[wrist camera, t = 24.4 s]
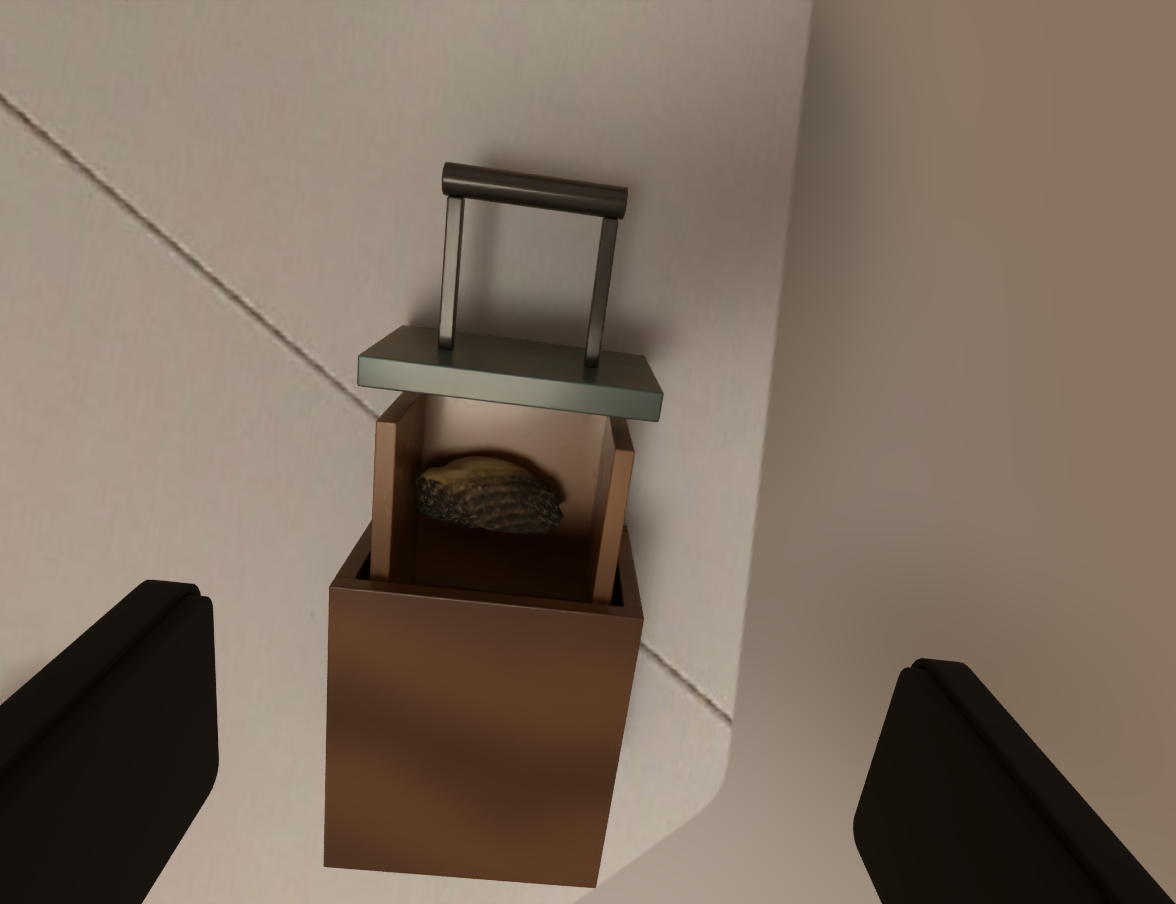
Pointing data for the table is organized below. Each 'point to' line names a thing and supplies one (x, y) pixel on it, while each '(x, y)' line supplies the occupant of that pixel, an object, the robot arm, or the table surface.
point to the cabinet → (474, 726)
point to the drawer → (509, 421)
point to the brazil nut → (488, 496)
